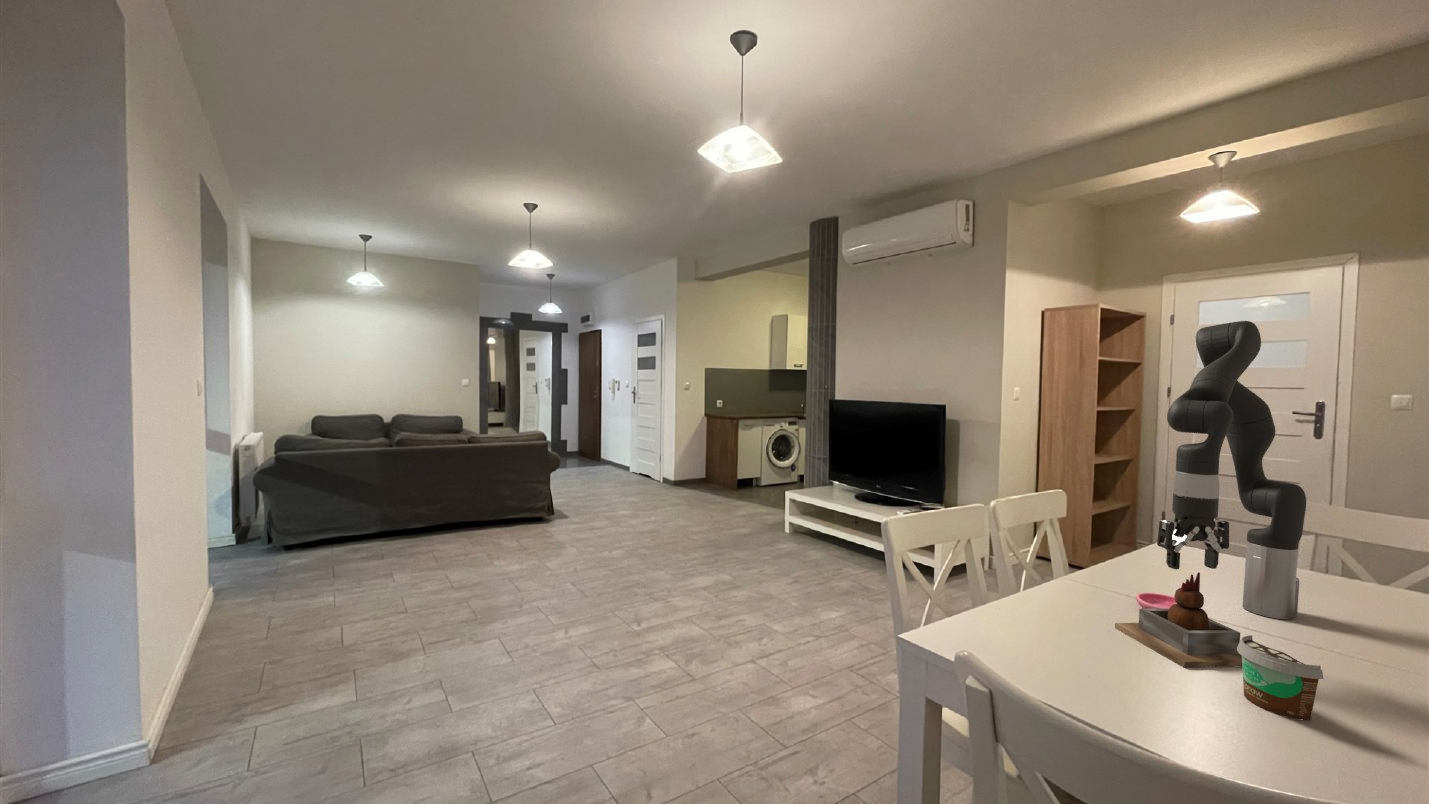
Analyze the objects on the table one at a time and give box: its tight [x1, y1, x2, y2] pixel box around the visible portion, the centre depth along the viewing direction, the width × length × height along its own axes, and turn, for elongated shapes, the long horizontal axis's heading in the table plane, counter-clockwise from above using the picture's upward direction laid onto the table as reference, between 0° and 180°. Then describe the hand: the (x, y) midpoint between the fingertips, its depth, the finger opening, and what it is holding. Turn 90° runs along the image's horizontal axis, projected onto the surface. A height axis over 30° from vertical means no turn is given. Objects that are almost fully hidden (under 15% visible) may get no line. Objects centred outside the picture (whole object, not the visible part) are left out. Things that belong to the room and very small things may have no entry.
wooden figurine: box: [1168, 571, 1210, 631], centre depth 123 cm, size 7×6×15 cm
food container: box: [1237, 634, 1324, 721], centre depth 101 cm, size 12×6×10 cm, turn 5°
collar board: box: [1114, 608, 1243, 669], centre depth 123 cm, size 18×18×6 cm
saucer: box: [1135, 592, 1177, 609], centre depth 141 cm, size 12×12×3 cm
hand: (1191, 568), depth 123 cm, fingers open, 8 cm apart
